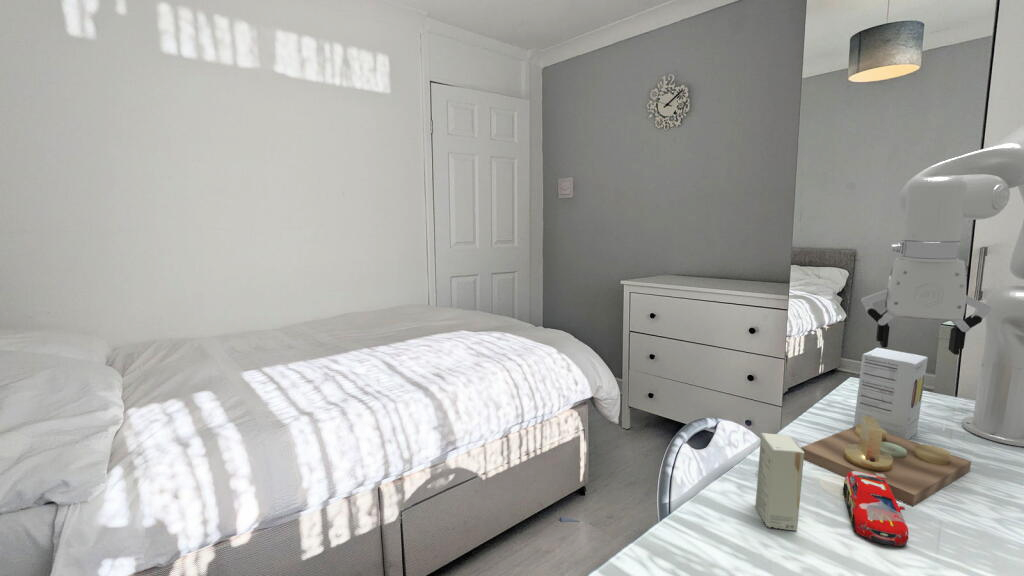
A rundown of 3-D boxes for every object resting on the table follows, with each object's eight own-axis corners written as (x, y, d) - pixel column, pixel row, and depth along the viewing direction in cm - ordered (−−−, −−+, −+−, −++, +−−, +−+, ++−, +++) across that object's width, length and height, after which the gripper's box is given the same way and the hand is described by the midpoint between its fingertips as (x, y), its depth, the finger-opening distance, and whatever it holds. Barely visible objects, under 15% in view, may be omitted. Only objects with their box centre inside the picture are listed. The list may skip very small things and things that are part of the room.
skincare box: (798, 532, 72) (806, 453, 70) (765, 528, 73) (773, 450, 71) (783, 506, 78) (791, 434, 76) (753, 503, 79) (760, 431, 77)
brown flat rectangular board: (860, 432, 105) (862, 417, 104) (969, 471, 89) (972, 453, 89) (799, 457, 94) (801, 440, 93) (912, 506, 78) (915, 486, 78)
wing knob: (841, 448, 93) (845, 412, 92) (886, 456, 90) (891, 419, 89) (847, 465, 87) (852, 427, 86) (896, 474, 84) (902, 435, 82)
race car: (911, 557, 67) (916, 524, 66) (852, 541, 70) (856, 510, 70) (889, 497, 81) (892, 469, 81) (840, 486, 85) (843, 459, 84)
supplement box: (904, 444, 99) (916, 364, 97) (851, 429, 107) (861, 353, 104) (918, 432, 105) (929, 355, 103) (867, 417, 112) (876, 346, 110)
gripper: (869, 252, 84) (859, 348, 87) (1007, 255, 76) (991, 361, 79) (863, 248, 91) (855, 338, 94) (990, 250, 82) (976, 349, 85)
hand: (917, 349), depth 86 cm, fingers open, 9 cm apart
